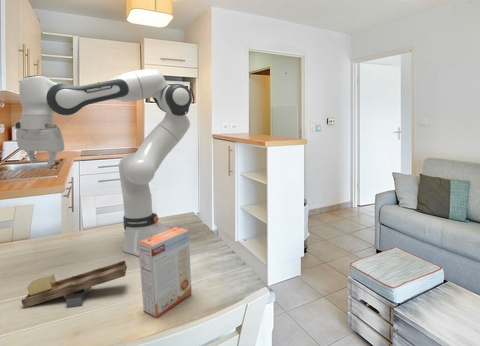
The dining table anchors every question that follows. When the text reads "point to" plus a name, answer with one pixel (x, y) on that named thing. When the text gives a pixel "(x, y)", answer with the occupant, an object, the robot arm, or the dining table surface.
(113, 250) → the dining table surface
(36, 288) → the rider
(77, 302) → the fulcrum
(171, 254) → the cracker box
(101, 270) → the beam
